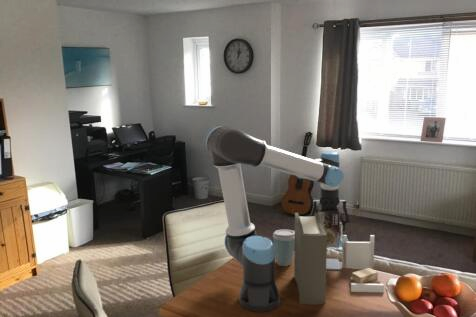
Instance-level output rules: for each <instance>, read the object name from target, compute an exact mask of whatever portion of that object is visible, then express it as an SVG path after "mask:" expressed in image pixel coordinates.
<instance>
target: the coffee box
mask: <svg viewBox="0 0 476 317" xmlns="http://www.w3.org/2000/svg"><path fill="white" fill-rule="evenodd" d="M337 208H338V211H335V209H333V210H331V209H329V210H326V209H325V211H321V206H319V207H318V211H317V213H318V214H319V219H320V222H321V224H322V226H323V228H324V230H325V232H326V234H327V248H335V249H336V248H340V245H341V242H340V241H341V239H340V223H341V220H340V214H341V209H340V207H337Z"/></svg>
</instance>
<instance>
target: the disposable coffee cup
mask: <svg viewBox="0 0 476 317" xmlns="http://www.w3.org/2000/svg"><path fill="white" fill-rule="evenodd" d="M272 239H273V244H274V248H275V262H276V263H277V265H278V266H282V267H288V265H289V266H290V265H292V262H293V257H294V254H295V230H291V229H283V228H282V229H277V230H275V231H274V232H273V233H272Z"/></svg>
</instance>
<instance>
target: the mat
mask: <svg viewBox="0 0 476 317" xmlns="http://www.w3.org/2000/svg"><path fill="white" fill-rule="evenodd" d="M326 271H342V265H341V263H340V260H339V258H326Z"/></svg>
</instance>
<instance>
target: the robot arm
mask: <svg viewBox="0 0 476 317" xmlns="http://www.w3.org/2000/svg"><path fill="white" fill-rule="evenodd" d="M205 147H206V149H207V151H208V153H210V156H211V160H212V165H213V167H215V168H216V169H217V170H218V175H219V180H220V187H221V192H222V196H223V202H224V208H225V213H226V219H227V223H228V226H227V228H226V229H225V237H224V247H225V249H226V251H227V253H228V254H229V255H230V256H231V257H232V258H233V259H234V260H235V261H236V262H238V263H239V264H240V265H241V266H242V277H243V278H242V279H243V282H242V285H241V287H240V291H239V294H238V295H239V296H238V297H239V298H238V301H239V302H238V303H239V304H240V306H241V307H242V308H244V309H246V310H247V311H248V310H249V311H251V312H259V313H260V312H261V313H262V312H270V311H272V310H274V309H275V308H277V307H279V305H280V302H281V296H280V292H279V288H278V286H277V283H276V278H275V277H276V254H275V246H274V241H272V240H271V239H270V238H268V237H266V236H264V237H263V236H262V235H257V230H256V226H255V224H254V223H252V222H251V219H250V213H249V206H248V201H247V195H246V189H245V184H244V178H243V172H242V166H241V165H247V166H250V167H251V166H252V167H254V168H257V167H259V166H262V167H266V168H269V169H273V170H274V171H275V170H276V171H279V172H283V173H286V174H290V175H293V176H296V178H298V179H304V180H305V179H307V180H310V181H314V182H316V183H320V198H319V199H317V200H316V199H313V200H312V204H313V206H312V209H311V213H310V216H315V213H316V210H317V208H318V207H317V206H319V204H320V205H321V206H320V207H321V211H325V209H326V210H329V209H331V210H333V209H335V211H338V208H339V207H338V205H339V204H340V205H341V207H342V210H343V214H344V218H343V215H342V214H341V213H340V240H343V232H345V231H346V224H349V223H350V218H349V214H348V210H347V200H346V199H340V198H339V197H340V196H339V192H340V191H339V190H340V189H339V187H340V185H341V184H342V182H343V180H344V172H343V170H342V169H341V168H340V154H339V153H338V152H337V151H331V150H330V151H328V150H327V151H322V152H321V153H320V157H317V158H309V157H306V156H303V155H300V154H297V153H294V152H290V151H288V150H285V149H282V148H279V147H275V146H272V145H268V144H267V143H266V141H265V140H262V139H260V138H257V137H255V136H252V135H250V134H249V133H247V132H245V131H243V130H240V129H237V128H236V129H235V128H232V127H230V126H227V125H220V126H216V127H213V128H212V129H210V131H209V133H208V134H207V135H206V139H205ZM310 216H309V217H310Z"/></svg>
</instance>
